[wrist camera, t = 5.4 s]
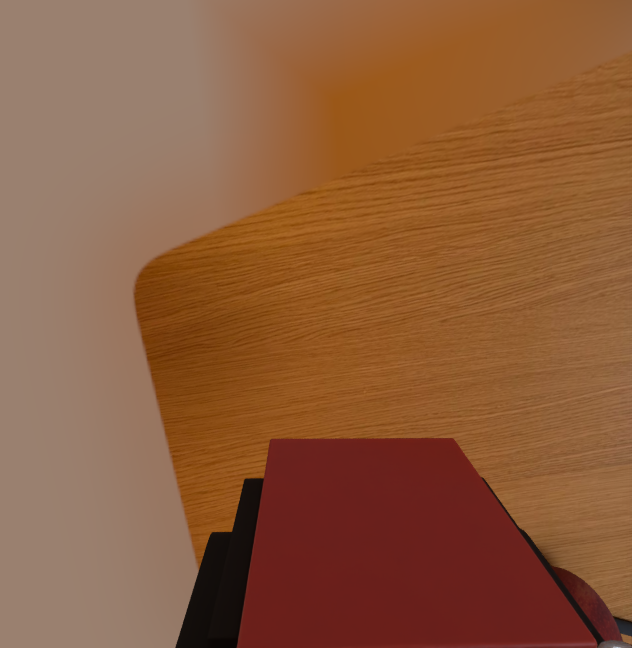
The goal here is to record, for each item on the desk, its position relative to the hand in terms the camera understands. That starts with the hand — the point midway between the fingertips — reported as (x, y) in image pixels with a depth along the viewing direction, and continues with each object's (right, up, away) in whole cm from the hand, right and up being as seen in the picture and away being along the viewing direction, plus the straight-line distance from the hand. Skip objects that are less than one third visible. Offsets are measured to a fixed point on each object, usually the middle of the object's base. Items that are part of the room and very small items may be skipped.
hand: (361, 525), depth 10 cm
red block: (0, 0, 0) cm, 0 cm away
